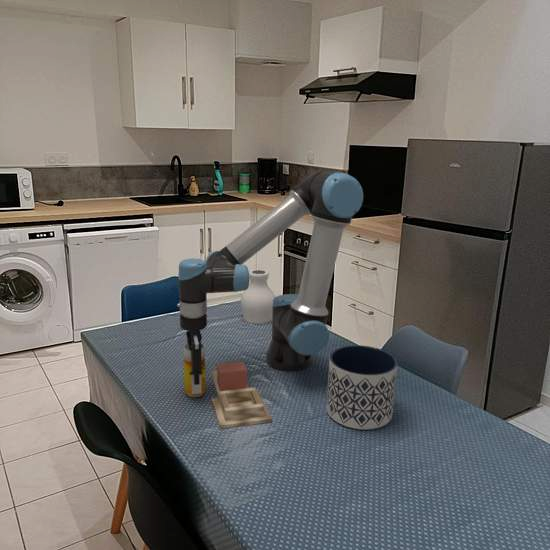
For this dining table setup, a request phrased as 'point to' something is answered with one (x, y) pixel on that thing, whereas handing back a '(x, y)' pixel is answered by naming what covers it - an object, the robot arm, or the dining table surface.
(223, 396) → the dock
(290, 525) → the dining table surface
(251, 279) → the vase
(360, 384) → the planter
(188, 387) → the beer can
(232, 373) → the salmon pink block
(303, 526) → the dining table surface
